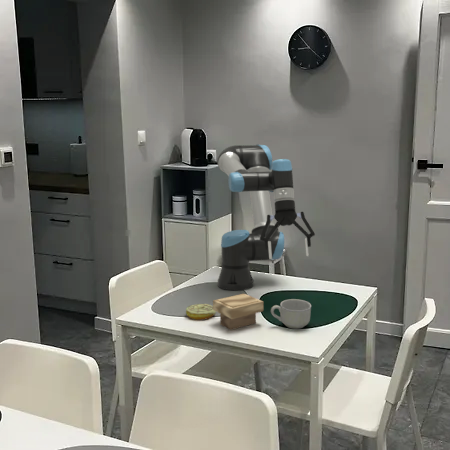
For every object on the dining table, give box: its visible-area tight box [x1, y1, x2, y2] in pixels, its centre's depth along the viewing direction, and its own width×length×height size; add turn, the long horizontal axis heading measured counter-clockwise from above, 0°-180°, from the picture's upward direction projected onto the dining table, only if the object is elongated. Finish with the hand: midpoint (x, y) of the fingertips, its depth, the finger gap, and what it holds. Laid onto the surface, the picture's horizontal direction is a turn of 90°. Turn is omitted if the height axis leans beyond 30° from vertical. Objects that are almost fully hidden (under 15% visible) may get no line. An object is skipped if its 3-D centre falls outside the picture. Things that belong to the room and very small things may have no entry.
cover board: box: [212, 293, 264, 319], centre depth 213 cm, size 12×14×4 cm
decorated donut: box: [185, 303, 217, 321], centre depth 223 cm, size 10×11×4 cm
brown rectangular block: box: [219, 313, 257, 331], centre depth 214 cm, size 6×11×5 cm, turn 125°
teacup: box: [270, 298, 312, 330], centre depth 212 cm, size 14×11×8 cm
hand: (289, 257), depth 225 cm, fingers open, 13 cm apart
